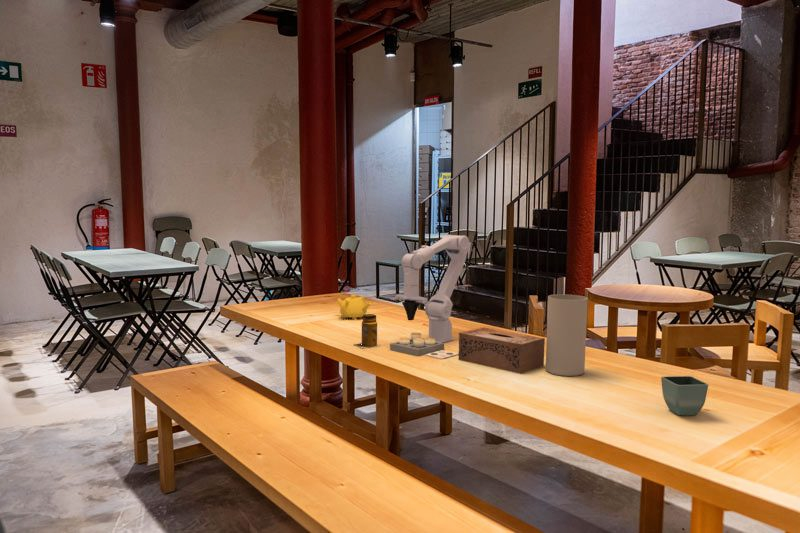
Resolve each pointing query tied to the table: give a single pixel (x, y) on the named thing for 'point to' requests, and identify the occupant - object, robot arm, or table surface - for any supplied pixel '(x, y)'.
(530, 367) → the tissue box cover
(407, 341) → the button
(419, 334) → the button
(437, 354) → the card
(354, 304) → the teapot
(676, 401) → the flower pot
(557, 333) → the cylinder vase
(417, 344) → the button
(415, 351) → the board
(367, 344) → the condiment
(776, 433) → the table surface
